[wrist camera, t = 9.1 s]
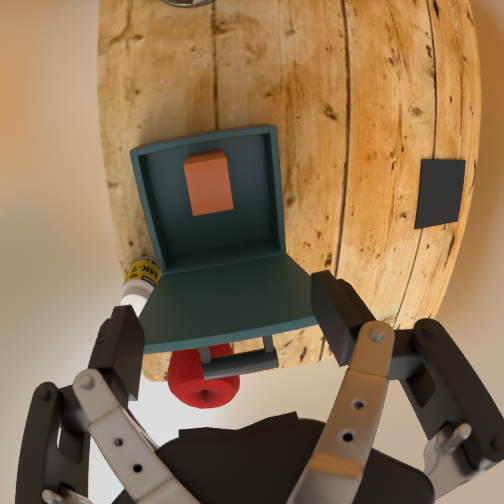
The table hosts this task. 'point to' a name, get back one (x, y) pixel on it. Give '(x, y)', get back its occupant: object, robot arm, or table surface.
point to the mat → (439, 192)
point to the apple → (200, 379)
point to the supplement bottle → (140, 283)
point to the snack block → (208, 182)
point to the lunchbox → (218, 223)
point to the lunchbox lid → (228, 311)
